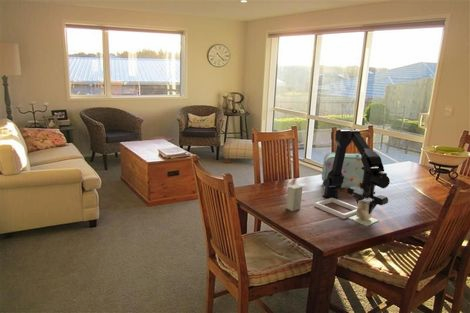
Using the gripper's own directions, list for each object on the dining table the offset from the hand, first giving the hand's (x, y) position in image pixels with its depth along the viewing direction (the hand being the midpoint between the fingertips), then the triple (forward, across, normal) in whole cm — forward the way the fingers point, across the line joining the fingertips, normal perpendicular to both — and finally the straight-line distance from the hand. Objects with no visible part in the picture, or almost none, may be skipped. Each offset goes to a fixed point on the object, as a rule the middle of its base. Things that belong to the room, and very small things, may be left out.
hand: (364, 212), depth 171 cm
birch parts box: (+2, 0, 0) cm, 3 cm away
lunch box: (+4, -36, +34) cm, 50 cm away
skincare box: (+4, -28, -19) cm, 34 cm away
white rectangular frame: (+4, -15, 0) cm, 15 cm away
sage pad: (+4, 0, 0) cm, 4 cm away
